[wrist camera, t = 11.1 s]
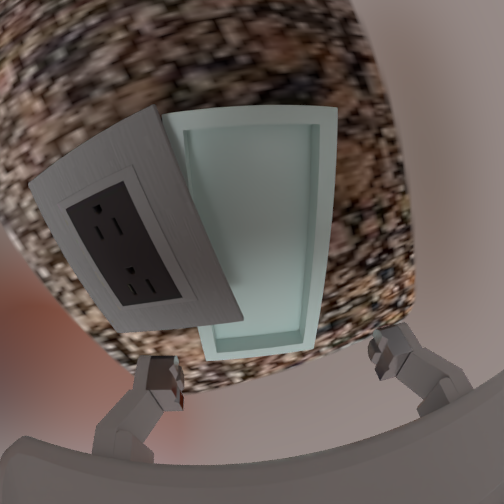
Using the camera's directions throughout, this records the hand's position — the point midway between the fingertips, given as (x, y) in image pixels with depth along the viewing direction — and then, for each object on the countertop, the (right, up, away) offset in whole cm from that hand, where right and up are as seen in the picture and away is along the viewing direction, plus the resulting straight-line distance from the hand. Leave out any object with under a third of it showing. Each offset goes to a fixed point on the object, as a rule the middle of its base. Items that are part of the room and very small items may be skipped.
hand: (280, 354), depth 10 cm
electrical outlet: (-13, +4, +7) cm, 15 cm away
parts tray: (-1, +4, +8) cm, 9 cm away
